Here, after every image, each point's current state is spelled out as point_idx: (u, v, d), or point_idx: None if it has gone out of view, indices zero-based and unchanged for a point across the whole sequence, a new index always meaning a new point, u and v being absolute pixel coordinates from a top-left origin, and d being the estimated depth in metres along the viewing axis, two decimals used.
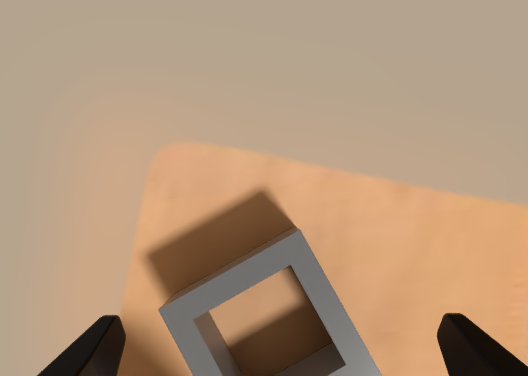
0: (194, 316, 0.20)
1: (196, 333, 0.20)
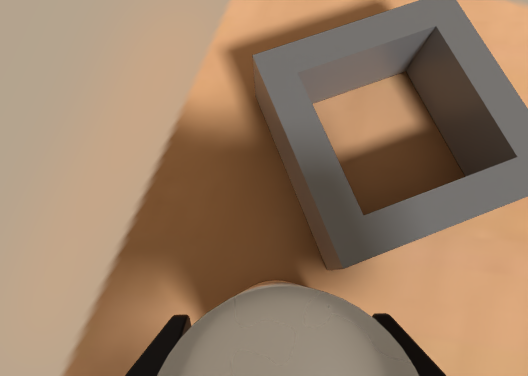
0: (300, 68, 0.15)
1: (300, 89, 0.14)
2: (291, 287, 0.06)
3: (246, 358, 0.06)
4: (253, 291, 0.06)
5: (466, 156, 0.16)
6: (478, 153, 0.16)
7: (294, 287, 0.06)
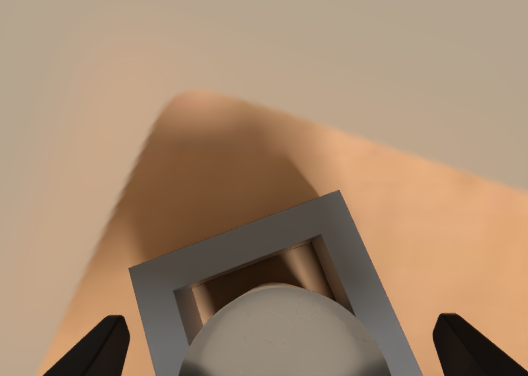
0: (176, 285, 0.14)
1: (173, 311, 0.14)
2: (287, 288, 0.08)
3: (252, 341, 0.08)
4: (258, 291, 0.08)
5: None
6: None
7: (289, 288, 0.08)
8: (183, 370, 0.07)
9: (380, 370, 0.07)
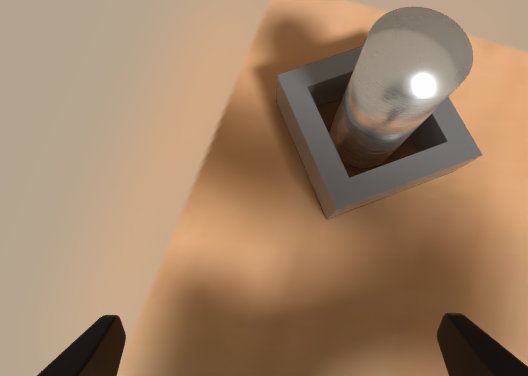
0: (309, 83, 0.22)
1: (308, 98, 0.22)
2: (415, 7, 0.16)
3: (401, 27, 0.16)
4: (400, 9, 0.16)
5: (421, 143, 0.24)
6: (427, 140, 0.23)
7: (416, 7, 0.16)
8: (369, 38, 0.16)
9: (463, 36, 0.16)
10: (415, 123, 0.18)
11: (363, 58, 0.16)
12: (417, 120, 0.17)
